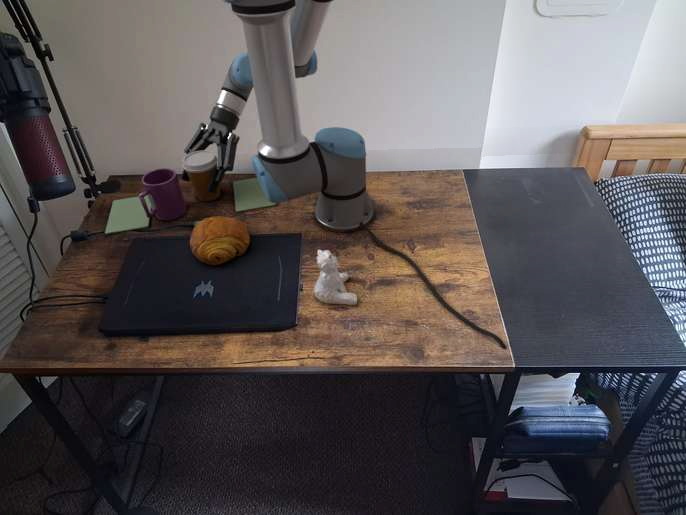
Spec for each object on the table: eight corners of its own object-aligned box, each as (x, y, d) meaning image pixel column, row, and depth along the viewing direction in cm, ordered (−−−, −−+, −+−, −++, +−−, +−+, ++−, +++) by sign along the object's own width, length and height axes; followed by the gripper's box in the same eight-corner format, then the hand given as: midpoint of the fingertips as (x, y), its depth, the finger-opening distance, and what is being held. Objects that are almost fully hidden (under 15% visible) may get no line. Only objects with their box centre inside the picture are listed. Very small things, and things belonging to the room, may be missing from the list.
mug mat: (148, 227, 121) (148, 226, 121) (105, 234, 119) (104, 233, 119) (153, 195, 133) (152, 194, 133) (113, 201, 131) (113, 200, 131)
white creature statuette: (359, 305, 96) (358, 263, 88) (320, 315, 95) (315, 273, 87) (346, 276, 103) (344, 234, 95) (309, 285, 102) (304, 243, 94)
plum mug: (172, 199, 131) (160, 165, 124) (193, 207, 127) (182, 172, 120) (139, 220, 123) (125, 185, 116) (161, 229, 120) (147, 194, 113)
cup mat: (276, 205, 126) (275, 204, 126) (236, 212, 124) (235, 211, 124) (269, 176, 138) (269, 175, 138) (233, 182, 136) (232, 181, 136)
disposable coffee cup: (222, 204, 128) (212, 166, 120) (188, 205, 128) (176, 167, 120) (229, 186, 135) (220, 148, 127) (197, 186, 135) (186, 150, 127)
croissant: (193, 276, 109) (182, 254, 103) (196, 230, 119) (186, 207, 113) (254, 266, 110) (247, 244, 104) (251, 221, 120) (245, 199, 114)
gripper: (265, 126, 123) (234, 202, 125) (209, 108, 134) (181, 178, 135) (248, 114, 117) (215, 194, 118) (190, 96, 128) (161, 170, 129)
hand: (197, 186), depth 127 cm, fingers open, 10 cm apart
